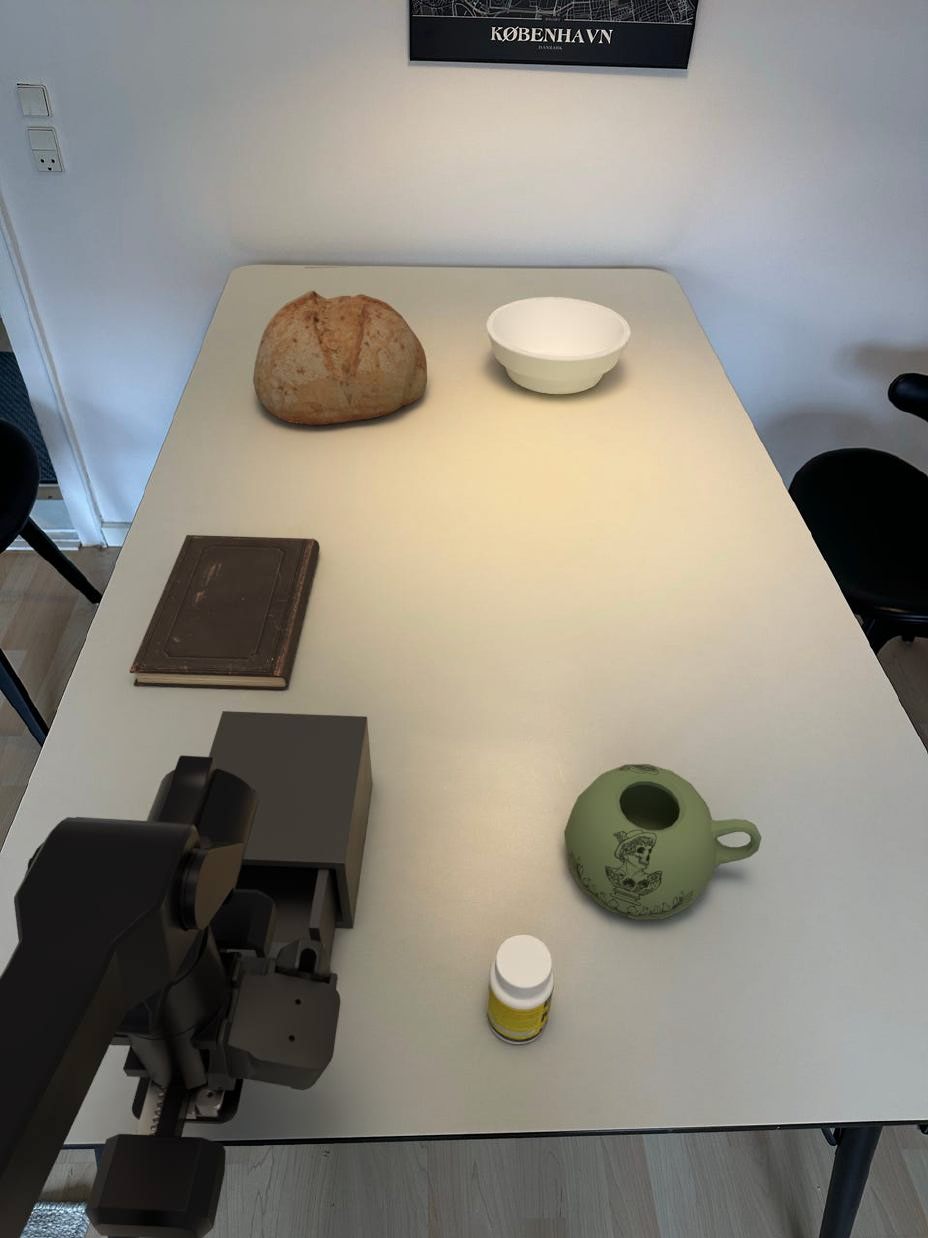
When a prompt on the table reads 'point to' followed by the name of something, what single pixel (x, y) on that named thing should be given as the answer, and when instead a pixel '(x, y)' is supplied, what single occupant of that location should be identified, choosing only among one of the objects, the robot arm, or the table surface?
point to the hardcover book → (229, 614)
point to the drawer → (294, 906)
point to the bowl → (557, 342)
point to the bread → (338, 360)
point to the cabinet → (303, 791)
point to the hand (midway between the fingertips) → (217, 1098)
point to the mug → (647, 842)
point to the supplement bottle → (520, 989)
